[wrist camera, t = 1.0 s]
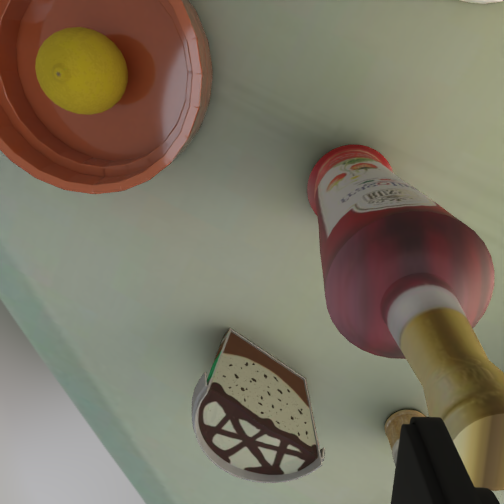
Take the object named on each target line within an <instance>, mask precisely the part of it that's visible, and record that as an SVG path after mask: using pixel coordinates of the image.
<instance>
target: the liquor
mask: <svg viewBox="0 0 504 504" xmlns="http://www.w3.org/2000/svg"><path fill="white" fill-rule="evenodd" d="M307 193H308V200H309V202H310V205H311V208H312V209H313V211H314V212H315V214H316V215H317V216H318V224H319V238H320V254H321V262H322V270H323V278H324V288H325V297H326V304H327V309H328V312H329V314H330V317H331V319H332V322H333V323H334V325H335V326H336V328H337V329H338V330H339V332H340V333H341V334H342V335H343V336H344V337H345V338H346V339H347V340H348V341H349V342H350V343H352V344H354V345H355V346H357V347H358V348H360V349H362V350H364V351H366V352H369V353H371V354H374V355H377V356H382V357H387V358H401V359H407V361H408V363H409V364H410V366H411V368H412V369H413V371H414V373H415V375H416V376H417V378H418V380H419V381H420V383H421V385H422V386H423V389H424V394H425V398H426V403H427V408H428V413H429V417H440V418H441V419H442V420H443V421H444V423H445V425H446V427H447V430H448V432H449V434H450V436H451V438H452V440H453V442H454V445H455V447H456V449H457V451H458V453H459V455H460V457H461V459H462V462H463V464H464V466H465V468H466V470H467V472H468V474H469V476H470V479H471V481H472V483H473V485H474V487H484V488H489V489H490V490H492V491H498V490H504V373H503V372H502V371H501V370H500V369H499V368H498V367H496V366H495V365H494V364H493V363H492V362H491V361H489V360H488V358H487V356H486V354H485V352H484V350H483V348H482V346H481V344H480V342H479V340H478V338H477V336H476V334H475V333H474V331H473V329H472V328H474V327H475V326H476V324H477V323H478V321H479V320H480V319H481V317H482V316H483V315H484V313H485V311H486V309H487V307H488V305H489V302H490V300H491V297H492V292H493V288H494V267H493V262H492V258H491V255H490V253H489V251H488V249H487V247H486V245H485V243H484V242H483V241H482V240H481V238H480V237H479V236H478V235H477V234H476V233H475V231H473V230H472V229H471V228H469V227H468V226H467V225H465V224H464V223H462V222H461V221H460V220H458V219H457V218H455V217H454V216H453V215H451V214H450V213H449V212H447V211H446V210H445V209H443V208H442V207H441V206H440V205H438V204H437V203H436V202H434V201H433V200H432V199H430V198H429V197H427V196H426V195H425V194H423V193H422V192H420V191H419V190H417V189H416V188H414V187H412V186H411V185H409V184H408V183H406V182H405V181H403V180H402V179H400V178H399V177H398V176H397V175H395V174H394V173H393V171H392V168H391V166H390V164H389V163H388V161H387V160H386V159H385V158H384V156H383V155H381V154H380V153H379V152H377V151H376V150H374V149H372V148H370V147H367V146H363V145H345V146H341V147H338V148H336V149H333V150H331V151H330V152H328V153H327V154H325V155H324V156H323V157H322V158H321V159H320V160H319V161H318V162H317V163H316V165H315V166H314V167H313V170H312V172H311V174H310V176H309V180H308V187H307Z"/></svg>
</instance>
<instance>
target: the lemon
mask: <svg viewBox="0 0 504 504" xmlns="http://www.w3.org/2000/svg"><path fill="white" fill-rule="evenodd" d="M35 69H36V75H37V79H38V82H39V84H40V87H41V88H42V90H43V91H44V93H45V94H46V96H47V97H48V98H49V99H50V100H52V101H53V102H54V103H55V104H56V105H58V106H60V107H61V108H63V109H65V110H67V111H70V112H73V113H76V114H86V115H92V114H97V113H102V112H104V111H106V110H108V109H110V108H112V107H113V106H114V105H115V104H116V103H117V102H118V101H119V100H120V99H121V98H122V96H123V94H124V92H125V90H126V86H127V83H128V70H127V65H126V61H125V59H124V57H123V55H122V53H121V51H120V50H119V48H118V47H117V46H116V45H115V43H114V42H112V41H111V40H110V39H109V38H108V37H106V36H105V35H103V34H101V33H99V32H97V31H95V30H93V29H88V28H83V27H72V28H65V29H63V30H60V31H58V32H55V33H53V34H52V35H51V36H50V37H48V38H47V39H46V40H45V41H44V42H43V44H42V45H41V47H40V48H39V51H38V54H37V57H36V65H35Z"/></svg>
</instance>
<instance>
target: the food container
mask: <svg viewBox="0 0 504 504" xmlns="http://www.w3.org/2000/svg"><path fill="white" fill-rule="evenodd" d="M192 422H193V429H194V432H195V435H196V438H197V441H198V443H199V445H200V447H201V449H202V451H203V452H204V453H205V455H206V456H207V457H208V458H209V459H210V460H211V461H212V462H213V463H214V464H215V465H216V466H218V467H219V468H221V469H222V470H224V471H225V472H227V473H229V474H231V475H233V476H236V477H239V478H242V479H245V480H249V481H253V482H261V483H279V482H287V481H291V480H295V479H298V478H301V477H303V476H306V475H308V474H310V473H312V472H313V471H315V470H317V469H318V468H319V467H321V466H322V462H323V461H324V455H325V448H324V447H323V448H322V449H321V450H320V448H319V443H318V437H317V432H316V427H315V422H314V417H313V412H312V407H311V402H310V397H309V392H308V387H307V382H306V378H304V377H303V376H301V375H300V374H298V373H297V372H295V371H294V370H292V369H291V368H289V367H288V366H286V365H285V364H283V363H282V362H280V361H279V360H277V359H276V358H274V357H273V356H271V355H270V354H268V353H267V352H265V351H264V350H262V349H261V348H259V347H258V346H256V345H255V344H253V343H252V342H250V341H249V340H247V339H246V338H244V337H243V336H242V335H240V334H239V333H237V332H236V331H234V330H233V329H231V328H229V330H228V331H227V332H226V334H225V335H224V337H223V340H222V342H221V345H220V347H219V350H218V352H217V355H216V358H215V360H214V363H213V365H212V368H211V370H210V373H209V376H208V378H207V375H206V372H204V374H203V375H202V376H201V378H200V379H199V381H198V383H197V385H196V387H195V389H194V393H193V397H192Z"/></svg>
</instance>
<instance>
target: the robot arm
mask: <svg viewBox="0 0 504 504" xmlns="http://www.w3.org/2000/svg"><path fill="white" fill-rule="evenodd" d="M461 1H464V2H467V3H481V4H486V3H494V2H501V1H504V0H461ZM391 504H500V503H499V501H498V500H497V498H496V496H495V495H494V493H493V492H492V491H491V490H490V489H489V488H484V487H474V485H473V483H472V481H471V479H470V476H469V474H468V472H467V470H466V468H465V466H464V464H463V462H462V459H461V457H460V455H459V453H458V451H457V449H456V447H455V445H454V442H453V440H452V438H451V436H450V434H449V432H448V430H447V427H446V425H445V423H444V421H443V420H442V419H441V418H440V417H412V418H411V419H410V423H409V424H402V426H401V431H400V439H399V446H398V454H397V462H396V469H395V477H394V484H393V492H392V499H391Z"/></svg>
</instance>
